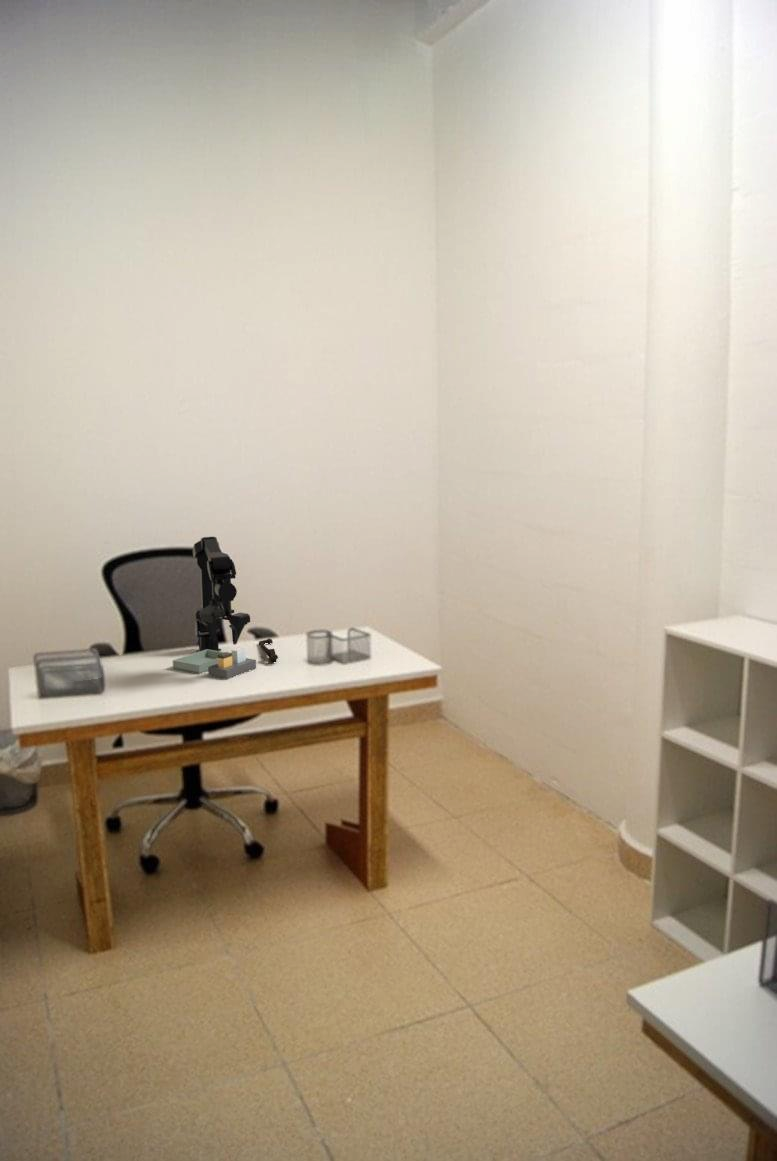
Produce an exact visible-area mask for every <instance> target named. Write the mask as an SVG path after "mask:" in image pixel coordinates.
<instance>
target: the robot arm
mask: <svg viewBox="0 0 777 1161" xmlns="http://www.w3.org/2000/svg"><path fill="white" fill-rule="evenodd" d="M192 556H193V559H194V561H195V563H196V565H197V566H198V568H199V573H200V574H199V577H200V578H199V579H200V582H199V583H200V585H199V586H200V609H198V610H197V611H196V613H195V619H196V620H195V622H194V629H193V630H194V635H195V637H196V638H198V650H197V649H196V650H195V653H197V652H200V651H203V650H206V649H208V650H214V651H220V650H221V651H222V648H220V647H219V638H218V636H220V635H222V626H223V622H222V621H221V620H223V621H224V620H225V621H228V623H229V625H228V627H229V629H231V635H232V636H231V637H232V645H233V646H234V645H237V644H238V641H239V639H240V637H241V633H242V632H243V629H244V628H245V626H247V625H248V623H250V622H251V615H250V614H249V613H246V612H237V613H235V609H232V601H233V602H234V599H235V598H236V596H237V592H238V591H237V588H236V586H235V584H233V583H232V579H236V576H237V569H236V566H235V563H234V561H233V559H232V558H231V557H230V555H229V554H228V553H224V552H223V551H222V549H221V548H220V543H219V541H218V538H217V537H216V536H203V537H200V540H199V541H197V542H195V543H194V544H193V548H192ZM221 651H220V652H221Z"/></svg>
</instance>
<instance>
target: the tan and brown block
mask: <svg viewBox="0 0 777 1161" xmlns="http://www.w3.org/2000/svg"><path fill="white" fill-rule="evenodd" d="M224 652H225V653H222V654H219V655H218V667H220V668H226V667H229V666H232V665H233V664H232V653H231V652H228V651H224Z"/></svg>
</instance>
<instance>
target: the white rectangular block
mask: <svg viewBox="0 0 777 1161" xmlns="http://www.w3.org/2000/svg"><path fill="white" fill-rule="evenodd" d="M230 651H231V652H230V653H232V662H234V663H240V662H243V661H245V660H246V658H247V657H246V655H247V654H246V653H247V652H246V648H245V647H237V648H234V649H231V650H230Z"/></svg>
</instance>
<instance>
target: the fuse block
mask: <svg viewBox="0 0 777 1161" xmlns="http://www.w3.org/2000/svg"><path fill="white" fill-rule="evenodd" d="M256 661H257V659H253V658H248V657H246V660H245V661H243V662H240V663H234V662H232V664H233V665H232V666H229V667H226V668H220V667H218V664H215V665H212V666H209V667H208V671H207V673H208V676H209V675H211V676H210V677H212V676H215V677H214V678H217V677H220V678H219V679H222V678H225V679H224V680H229V678H230V679H232V678H234V676H235V677H237V676H236V675H238V676H240V675H242V674H241V673H243V674H245V673H244V672H246V673H248V672H250V671H249V670H251V671H253V670H252V669H254V668H256V669H257V662H256ZM254 670H255V669H254ZM247 671H248V672H247ZM239 674H240V675H239ZM231 677H232V678H231Z"/></svg>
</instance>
